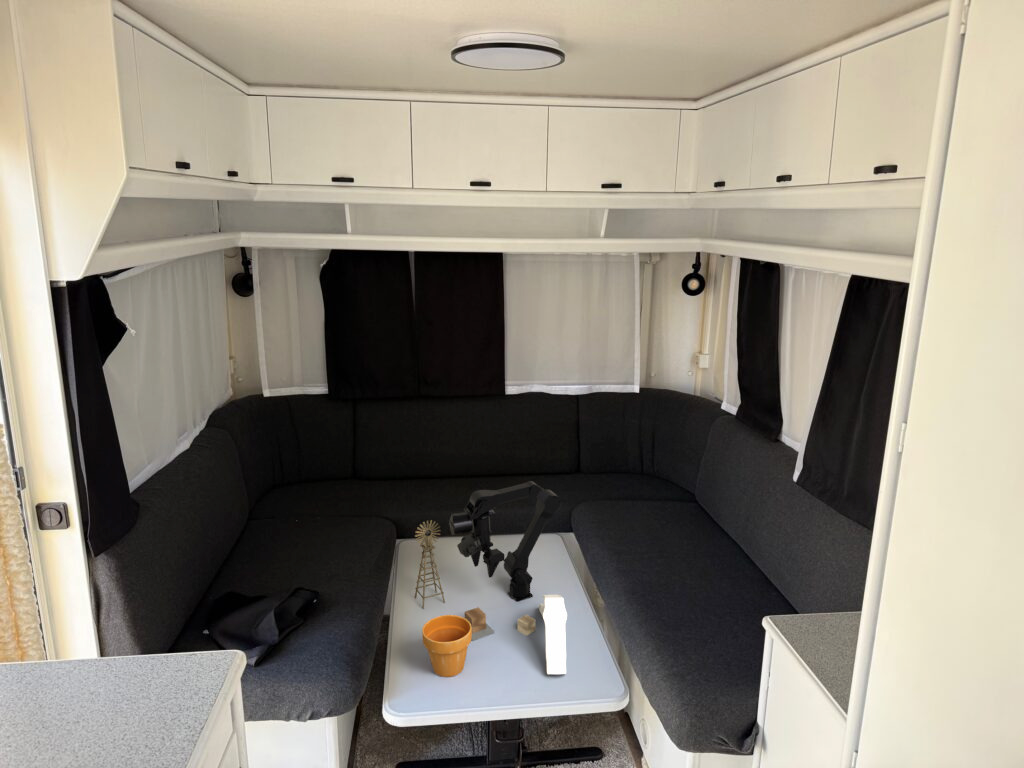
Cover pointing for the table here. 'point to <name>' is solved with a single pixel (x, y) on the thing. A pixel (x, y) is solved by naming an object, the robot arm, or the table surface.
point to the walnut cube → (476, 619)
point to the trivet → (482, 633)
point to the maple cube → (526, 625)
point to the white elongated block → (554, 633)
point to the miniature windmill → (429, 547)
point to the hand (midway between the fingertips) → (483, 571)
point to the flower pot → (447, 643)
